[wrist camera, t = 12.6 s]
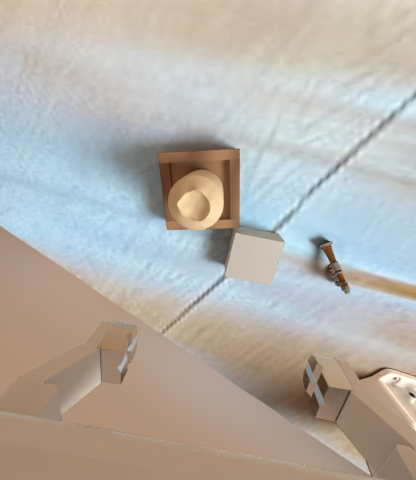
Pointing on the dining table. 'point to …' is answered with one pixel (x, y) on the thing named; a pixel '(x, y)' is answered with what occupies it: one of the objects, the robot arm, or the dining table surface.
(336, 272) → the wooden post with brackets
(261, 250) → the grey block
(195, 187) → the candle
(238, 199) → the square wooden tray
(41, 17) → the dining table surface
